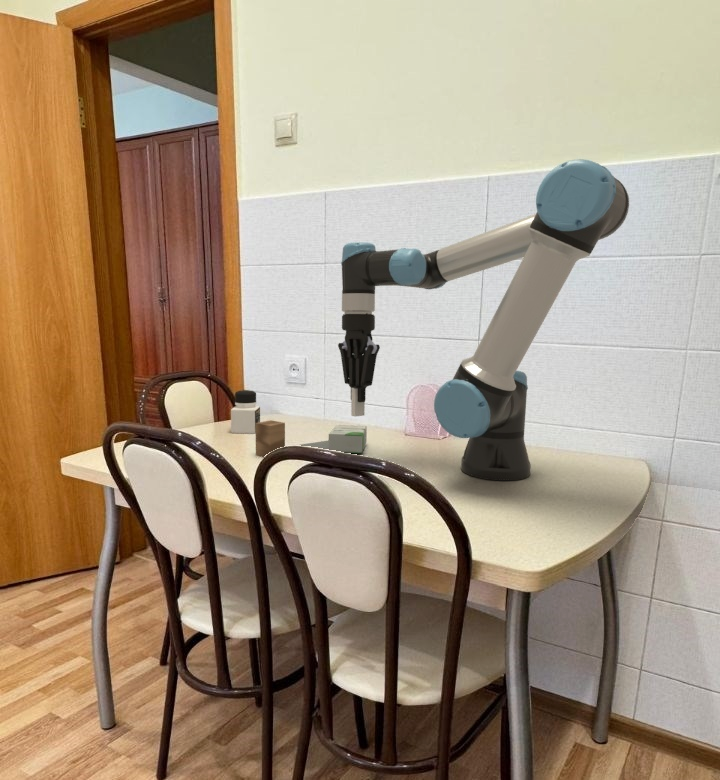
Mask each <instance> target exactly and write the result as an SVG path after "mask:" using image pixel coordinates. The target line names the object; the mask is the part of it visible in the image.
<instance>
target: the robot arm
mask: <svg viewBox="0 0 720 780" xmlns="http://www.w3.org/2000/svg"><path fill="white" fill-rule="evenodd" d="M535 205H536V210H537V212H536V213H534V214H532V215H529V216H527V217H524V218H521V219H518V220H516V221H512V222H510V223H508V224H505V225H502V226H499V227H496V228H494V229H491V230H488V231H485V232H483V233H479V234H477V235H474V236H472V237H469V238H467V239H464V240H461V241H458V242H456V243H452V244H450V245H447V246H444V247H442V248H440V249H437V250H435V251H434V250H433V251H431V252H428V253H426V254H423V253H422V251H421V250H419V249H417V248H406V247H403V248H402V247H401V248H399V249H388V250H380V251H378V250H376V246H375V244H374V243H371V242H363V241H361V242H360V241H359V242H349V243H346V244H344V245H343V247H342V253H341V254H342V256H341V257H342V258H341V278H342V279H341V280H342V281H341V283H342V291H341V292H342V293H341V311H342V312H343V313H344V314H342V315H341V328H342V329H341V330H342V331H345V335H344V340H343V342H339V343H338V344H337V346H338V350H339V352H340V357H341V359H340V360H341V366H342V373H343V380H344V383H345V384H346V385H349V388H350V401H351V407H350V408H351V409H350V413H351V417H360V416H361V417H362V416H365V402H366V395H367V394H366V389H367V387H371V386H372V385H373V381H374V374H375V368H376V362H377V357H378V353H379V351H380V349H381V348H380V345H379V344H375V342H374V341H373V335H372V331H375V327H376V315H375V314H373V313H374V312H375V311H376V301H375V297H376V287H381V286H383V287H385V286H389V287H391V286H397V287H399V286H400V287H407V288H408V287H410V288H419V289H425V290H433V289H434V290H435V289H436V290H437V289H440V288H443V287H444V285H446V283H448V282H450V281H454V280H456V279H459V278H463V277H466V276H469V275H472V274H475V273H479V272H482V271H484V270H488V269H491V268H494V267H497V266H500V265H504V264H508V263H510V262H512V261H513V262H514V261H516V260H520V259H522V260H521V262H520V263H519V265H518V268H517V270H516V272H515V274H514V276H513V277H512V280H511V282H510V283H509V285H508V287H507V289H506V291H505V293H504V295H503V296H502V299H501V301H500V303H499V304H498V306H497V309H496V310H495V313H494V315H493V317H492V319H491V321H490V323H489V324H488V327H487V328H486V330H485V332H484V334H483V336H482V338H481V340H480V342H479V343H478V346H477V348H476V350H475V352H474V353H473V355H472V356H470V357H467V358H465V359H462V361H461V362H460V364H459V366H458V368H457V369H456V372H455V373H454V376H453V378H452V379H451V380H448V381H446V382H445V383H444V384H442V385H441V386H440V387H439V388H438V390H437V391H436V393H435V396H434V401H433V408H434V413H435V415H436V416H435V417H436V420H437V422H438V423H439V425H440V426H441V428H442V429H443V430H444V431H445V432H447V433H448V434H450V435H451V436H453V437H456V438H460V439H468V441H467V444H466V446H465V450H464V451H463V456H462V457H461V462H460V470H461V471H462V472H463V473H464V474H466V475H469V476H471V477H474V478H477V479H478V478H479V479H485V480H492V481H517V480H524V479H526V478H529V477H530V476H531V470H532V469H531V468H532V467H531V465H532V463H531V462H530V459H529V455H528V449H527V446H526V442H525V427H526V410H527V398H528V397H527V396H528V393H527V392H528V389H529V388H528V376H527V374H526V373H525V372H523V371H520V370H518V368H519V367H520V365H521V363H522V361H523V359H524V357H525V355H526V353H528V350H529V348H530V346H531V345H532V343H533V341H534V339H535V337H536V335H537V334H538V331H539V330H540V328H541V327H542V324H543V322H544V321H545V319H546V318H547V316H548V314H549V312H550V310H551V308H552V307H553V304H554V303H555V301H556V299H557V297H558V296H559V294H560V292H561V290H562V288H563V287H564V285H565V283H566V280H567V279H568V277H569V276H570V274H571V272H572V270H573V269H574V267H575V265H576V263H577V262H578V261H579V260H581V259H584V258H587V257H590V255H591V254H592V252H593V251H594V249H595V247H596V245H597V244H598V241H600V240H603V239H606V238H607V237H609V236H611V235H612V234H614V233H615V232H616V231H617V230H618V229H620V227H621V226H622V225H623V223H624V222H625V221H626V218H627V216H628V214H629V208H630V197H629V193H628V191H627V189H626V187H625V185H624V184H623V183H622V182H621V181H620V180H618V179H617V178H615V177H614V175H613V174H612V172H611V171H610V170H609V169H608V168H607V167H606V166H604V165H601V164H599V163H597V162H595V161H593V160H589V159H583V158H582V159H581V158H579V159H572V160H567V161H565V162H563V163H561V164H558V165H557V166H556V167H554V168H553V169H551V171H549V172H548V173H547V174H546V175H545V177H544V178H543V179H542V181H541V183H540V184H539V185H538V188H537V192H536V198H535Z"/></svg>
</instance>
